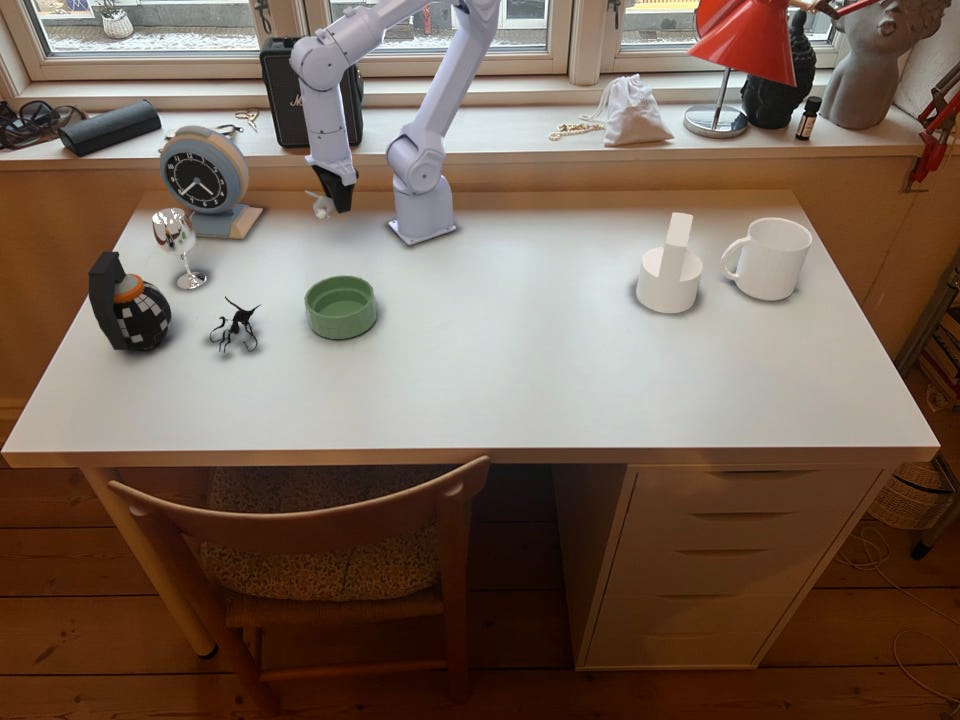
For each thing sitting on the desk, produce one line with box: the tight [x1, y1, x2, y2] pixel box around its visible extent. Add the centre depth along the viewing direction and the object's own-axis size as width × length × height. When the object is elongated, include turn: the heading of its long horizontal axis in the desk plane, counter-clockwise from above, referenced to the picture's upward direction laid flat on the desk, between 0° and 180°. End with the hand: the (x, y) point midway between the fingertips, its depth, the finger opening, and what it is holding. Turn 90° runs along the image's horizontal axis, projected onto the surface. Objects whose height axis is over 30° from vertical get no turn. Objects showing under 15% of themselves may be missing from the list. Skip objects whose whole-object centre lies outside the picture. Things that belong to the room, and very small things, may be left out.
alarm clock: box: [159, 124, 264, 240], centre depth 120 cm, size 14×10×18 cm
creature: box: [209, 296, 263, 354], centre depth 101 cm, size 8×5×8 cm
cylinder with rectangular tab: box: [635, 211, 704, 314], centre depth 105 cm, size 9×9×12 cm
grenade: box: [87, 251, 173, 352], centre depth 96 cm, size 11×10×15 cm
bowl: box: [303, 274, 378, 340], centre depth 104 cm, size 10×10×4 cm
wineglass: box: [151, 207, 207, 290], centre depth 109 cm, size 6×6×12 cm
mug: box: [719, 217, 813, 302], centre depth 108 cm, size 12×9×9 cm
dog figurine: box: [304, 189, 336, 220], centre depth 112 cm, size 3×8×6 cm
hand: (339, 205), depth 113 cm, fingers closed on dog figurine, 3 cm apart
